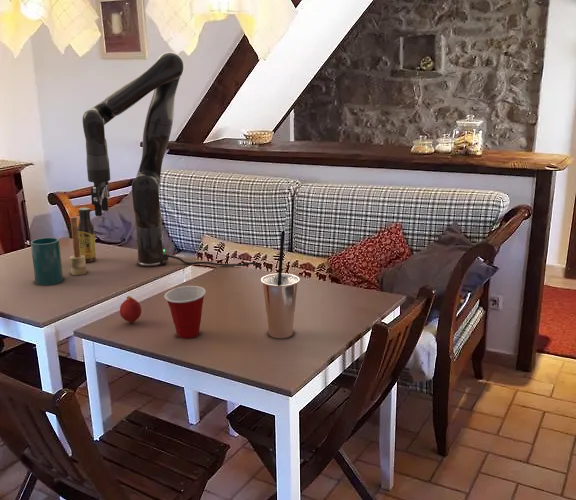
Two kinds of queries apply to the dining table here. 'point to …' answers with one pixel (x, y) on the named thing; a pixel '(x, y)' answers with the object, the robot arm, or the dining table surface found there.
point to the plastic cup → (186, 309)
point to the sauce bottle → (86, 235)
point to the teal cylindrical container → (47, 261)
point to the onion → (130, 310)
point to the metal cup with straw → (280, 299)
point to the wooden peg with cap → (76, 251)
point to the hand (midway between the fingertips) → (102, 213)
